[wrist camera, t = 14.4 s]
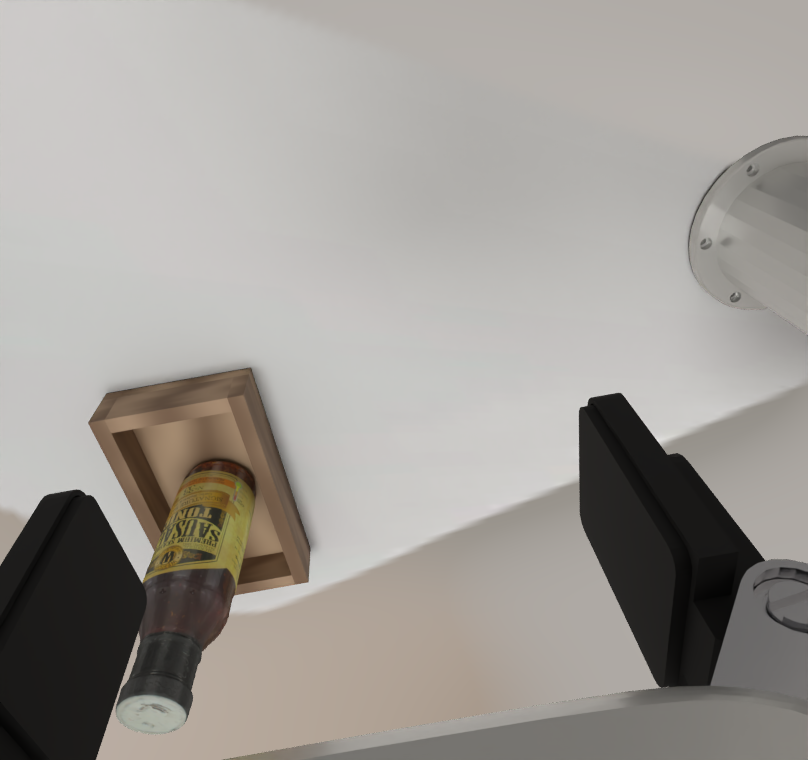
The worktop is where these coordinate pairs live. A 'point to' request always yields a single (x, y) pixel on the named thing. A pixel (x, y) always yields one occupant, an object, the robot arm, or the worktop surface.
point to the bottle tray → (202, 442)
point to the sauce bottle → (187, 593)
